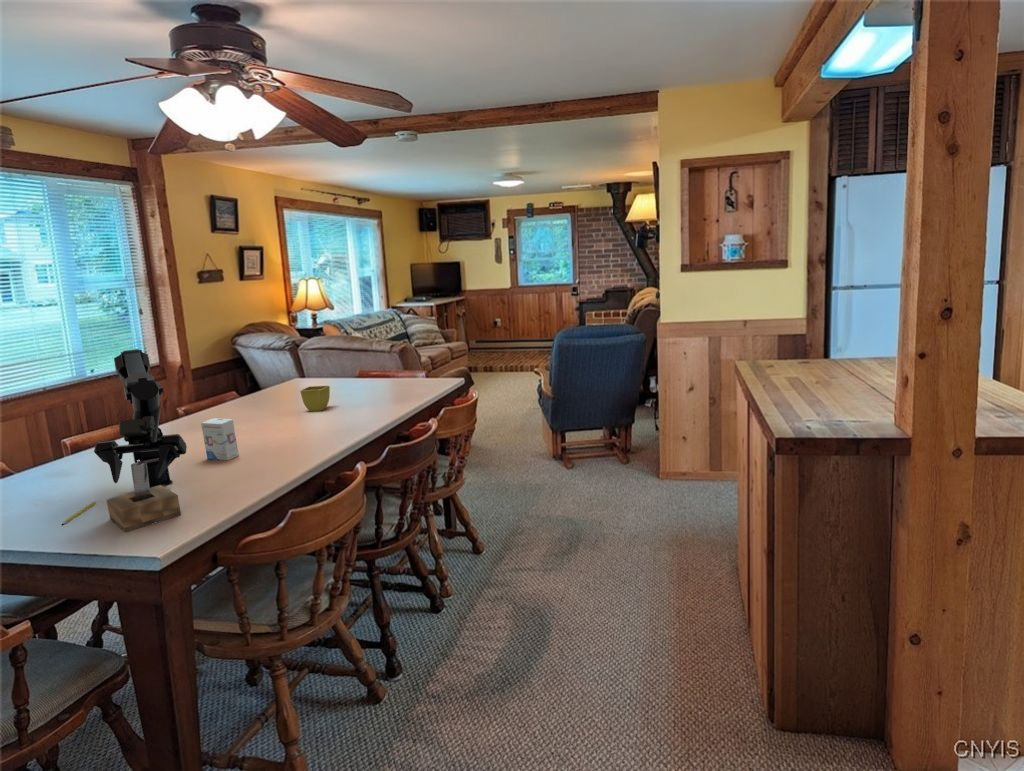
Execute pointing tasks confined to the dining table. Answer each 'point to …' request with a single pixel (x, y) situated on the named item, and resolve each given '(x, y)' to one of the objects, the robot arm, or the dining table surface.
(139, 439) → the robot arm
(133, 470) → the pin
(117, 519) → the socket block
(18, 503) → the dining table surface
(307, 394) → the flower pot
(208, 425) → the ink box
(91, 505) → the pencil
